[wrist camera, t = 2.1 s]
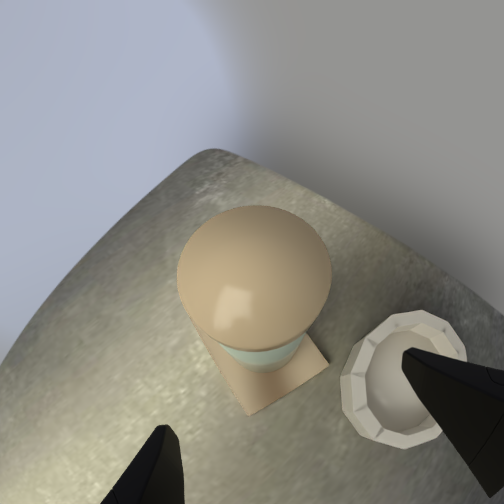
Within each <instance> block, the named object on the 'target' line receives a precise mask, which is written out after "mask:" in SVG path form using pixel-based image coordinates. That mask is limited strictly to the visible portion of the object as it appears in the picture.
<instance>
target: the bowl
mask: <svg viewBox="0 0 504 504" xmlns="http://www.w3.org/2000/svg"><path fill="white" fill-rule="evenodd" d="M411 347H414V348H418V349H421V350H425V351H428V352H432V353H436V354H439V355H443V356H447V357H450V358H454V359H458V360H462V361H465V362H467V357H466V350H465V346H464V345H463V343H462V341H461V340H460V338H459V337H458V336H457V334H456V333H455V331H454V330H453V328H452V327H451V325H450V324H449V323H448V322H447V321H445V320H443V319H441V318H439V317H437V316H434V315H432V314H430V313H428V312H426V311H423V310H418V311H412V312H405V313H399V314H392V315H391V316H389V317H388V318H387V319H386V320H384V321H383V322H382V323H380V324H379V325H378V326H377V327H375V328H374V329H373V330H372V331H371V332H369V333H368V334H367V335H366V336H364V337H363V338H362V339H361V340H360V341H358V342H357V343H356V344H354V345H353V348H352V350H351V352H350V355H349V357H348V359H347V362H346V364H345V366H344V368H343V371H342V373H341V375H340V386H341V401H342V411H343V412H344V414H345V415H346V416H347V418H348V419H349V421H350V422H351V423H352V425H353V426H354V427H355V429H356V430H357V432H358V433H359V434H360V435H361V436H363V437H366V438H368V439H371V440H374V441H377V442H380V443H384V444H387V445H391V446H394V447H398V448H402V449H407V448H410V447H413V446H416V445H419V444H422V443H424V442H427V441H430V440H432V439H435V438H437V436H438V435H439V434H440V433H441V432H442V431H443V430H442V429H441V428H440V426H439V425H438V424H437V422H436V421H435V420H434V418H433V417H432V416H431V414H430V413H429V412H428V410H427V409H426V408H425V406H424V405H423V404H422V403H421V401H420V400H419V398H418V397H417V395H416V393H415V392H414V390H413V388H412V387H411V385H410V383H409V382H408V380H407V378H406V377H405V375H404V373H403V371H402V368H401V364H402V354H403V352H404V351H405V350H407V349H409V348H411Z"/></svg>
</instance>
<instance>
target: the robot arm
mask: <svg viewBox="0 0 504 504" xmlns="http://www.w3.org/2000/svg"><path fill="white" fill-rule="evenodd" d="M401 368H402V371H403V373H404V375H405V377H406V378H407V380H408V382H409V383H410V385H411V387H412V388H413V390H414V392H415V393H416V395H417V397H418V398H419V400H420V401H421V403H422V404H423V405H424V406H425V408H426V409H427V410H428V412H429V413H430V414H431V416H432V417H433V418H434V420H435V421H436V422H437V424H438V425H439V426H440V428H441V429H442V430H443V432H444V433H445V435H446V436H447V437H448V439H449V440H450V441H451V443H452V444H453V446H454V447H455V448H456V450H457V451H458V453H459V454H460V455H461V457H462V458H463V460H464V461H465V463H466V464H467V465H468V466H469V469H470V470H471V471H472V473H473V474H474V476H475V477H476V479H477V480H478V482H479V483H480V485H481V486H482V488H483V489H484V491H485V492H486V494H487V495H488V497H489V498H491V497H492V496H493V495H495V494H496V493H497V492H498V491H499V490H500V489H501V488H503V487H504V371H503V370H498V369H494V368H490V367H485V366H481V365H477V364H473V363H469V362H465V361H462V360H458V359H454V358H450V357H447V356H443V355H439V354H436V353H432V352H428V351H425V350H421V349H418V348H414V347H411V348H409V349H407V350H405V351H404V352H403V354H402V364H401ZM100 504H185V500H184V474H183V467H182V460H181V452H180V445H179V439H178V437H177V435H176V434H175V433H174V431H173V430H172V429H171V427H170V426H169V425H159V426H157V427H156V428H155V430H154V431H153V432H152V434H151V435H150V437H149V438H148V439H147V441H146V442H145V444H144V445H143V446H142V448H141V449H140V451H139V452H138V453H137V455H136V456H135V458H134V459H133V460H132V462H131V463H130V465H129V466H128V467H127V469H126V470H125V471H124V473H123V474H122V475H121V477H120V478H119V480H118V481H117V482H116V484H115V485H114V486H113V488H112V489H111V490H110V492H109V493H108V494H107V496H106V497H105V498H104V499H103V501H102V502H101V503H100Z"/></svg>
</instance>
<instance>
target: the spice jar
mask: <svg viewBox="0 0 504 504" xmlns="http://www.w3.org/2000/svg"><path fill="white" fill-rule="evenodd" d="M331 281H332V268H331V261H330V257H329V253H328V251H327V248H326V246H325V244H324V242H323V241H322V239H321V237H320V236H319V235H318V234H317V232H316V231H315V230H314V229H313V228H312V227H311V226H310V225H309V224H308V223H306V222H305V221H304V220H303V219H301V218H299V217H298V216H296V215H294V214H292V213H290V212H288V211H285V210H282V209H279V208H275V207H270V206H243V207H238V208H234V209H231V210H228V211H225V212H223V213H220V214H218V215H216V216H215V217H213V218H211V219H209V220H208V221H207V222H205V223H204V224H203V225H202V226H201V227H200V228H198V229H197V230H196V231H195V233H194V234H193V235H192V236H191V237H190V239H189V240H188V242H187V244H186V245H185V247H184V249H183V251H182V253H181V256H180V260H179V263H178V269H177V286H178V292H179V295H180V299H181V301H182V304H183V306H184V308H185V310H186V311H187V313H188V314H189V316H190V317H191V318H192V319H193V321H194V322H195V323H196V324H197V325H198V326H199V327H200V328H201V329H202V330H203V331H204V332H205V333H206V334H207V335H208V336H209V337H211V338H212V339H213V340H215V341H217V342H218V343H219V344H220V345H221V346H222V347H223V348H224V349H225V350H226V351H227V353H228V354H229V355H230V356H231V357H232V358H233V359H234V360H235V361H236V362H237V363H238V364H240V365H241V366H242V367H244V368H245V369H247V370H249V371H252V372H257V373H269V372H273V371H276V370H278V369H280V368H282V367H283V366H285V365H286V364H287V363H288V362H289V361H290V360H291V358H292V357H293V355H294V353H295V352H296V350H297V348H298V346H299V345H300V343H301V341H302V339H303V337H304V336H305V334H306V332H307V330H308V329H309V328H310V327H311V325H312V324H313V323H314V321H315V320H316V319H317V317H318V315H319V313H320V311H321V309H322V308H323V306H324V304H325V302H326V300H327V297H328V294H329V291H330V287H331Z"/></svg>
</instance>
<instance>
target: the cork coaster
mask: <svg viewBox="0 0 504 504" xmlns="http://www.w3.org/2000/svg"><path fill="white" fill-rule="evenodd" d="M190 319H191V321H192V323H193V325H194V326H195V328H196V330H197V332H198V334H199V336H200V337H201V339H202V341H203V343H204V345H205V346H206V348H207V350H208V352H209V353H210V355H211V357H212V358H213V360H214V362H215V364H216V365H217V367H218V369H219V370H220V372H221V374H222V375H223V377H224V379H225V380H226V382H227V383H228V385H229V387H230V388H231V390H232V391H233V393H234V395H235V396H236V398H237V399H238V401H239V403H240V404H241V406H242V407H243V409H244V410H245V412H246V413H247V415H248V416H250V415H252V414H254V413H256V412H257V411H259V410H261V409H263V408H264V407H266V406H268V405H269V404H271V403H273V402H275V401H276V400H278V399H279V398H281V397H283V396H284V395H286V394H288V393H289V392H291V391H292V390H294V389H295V388H297V387H298V386H300V385H301V384H303V383H304V382H306V381H307V380H309V379H310V378H312V377H313V376H315V375H316V374H318V373H319V372H321V371H322V370H323V369H325V368H326V367H328V366H329V364H328V362H327V361H326V359H325V358H324V357H323V355H322V354H321V353H320V351H319V350H318V348H317V347H316V346H315V344H314V343H313V341H312V340H311V339H310V337H309V336H308V334H307V333H306V334H305V336H304V337H303V339H302V341H301V343H300V345H299V346H298V348H297V350H296V352H295V353H294V355H293V357H292V358H291V360H290V361H289V362H288V363H287V364H286V365H285V366H283V367H282V368H280V369H278V370H276V371H273V372H269V373H257V372H252V371H249V370H247V369H245V368H244V367H242V366H241V365H240V364H238V363H237V362H236V361H235V360H234V359H233V358H232V357H231V356H230V355H229V354H228V353H227V351H226V350H225V349H224V348H223V347H222V346H221V345H220V344H219V343H218V342H217V341H215V340H213V339H212V338H211V337H209V336H208V335H207V334H206V333H205V332H204V331H203V330H202V329H201V328H200V327H199V326H198V325H197V324H196V323H195V322H194V321H193V319H192V318H191V317H190Z"/></svg>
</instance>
